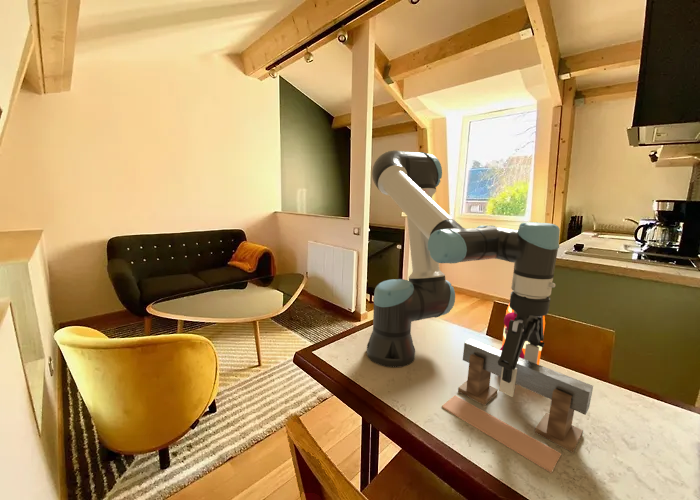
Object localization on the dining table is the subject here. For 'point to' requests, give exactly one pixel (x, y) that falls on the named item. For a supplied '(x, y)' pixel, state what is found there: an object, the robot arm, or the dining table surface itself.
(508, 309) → the orange juice
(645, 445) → the dining table surface
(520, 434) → the mat
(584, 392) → the rail
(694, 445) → the dining table surface
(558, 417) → the hook stands
